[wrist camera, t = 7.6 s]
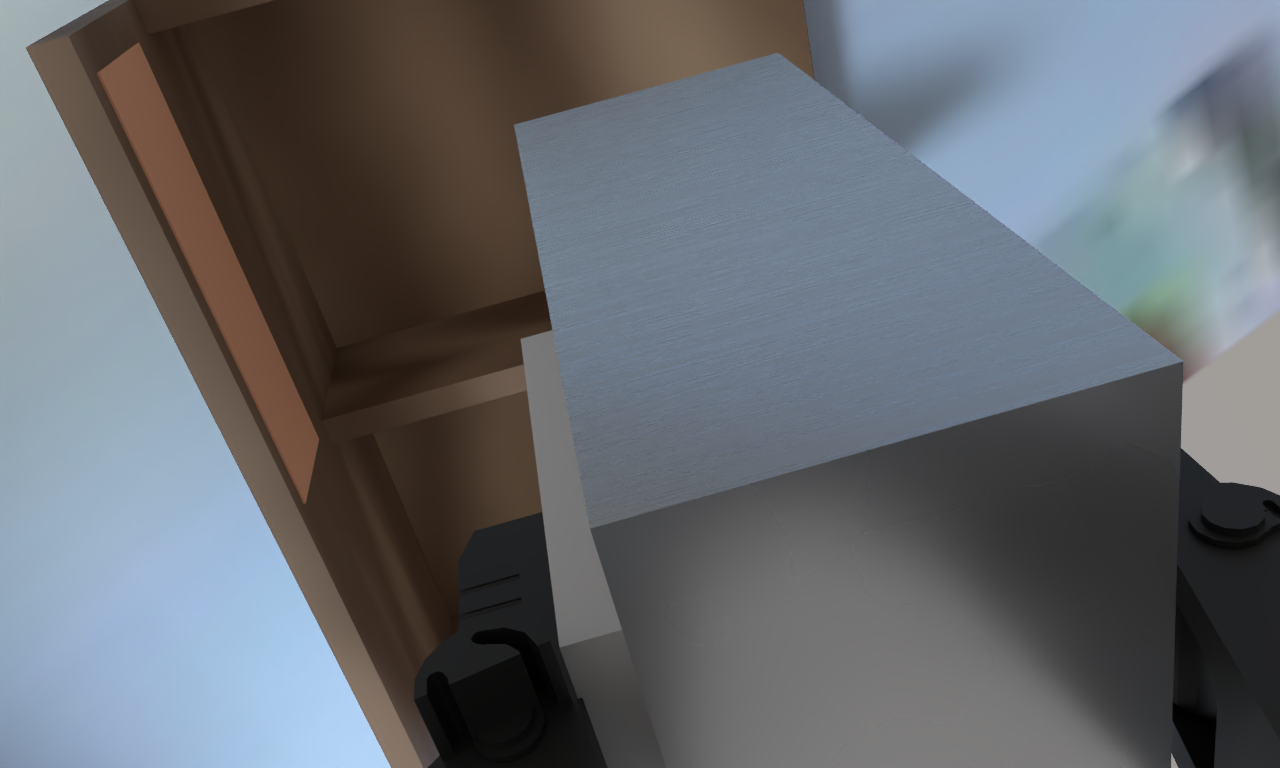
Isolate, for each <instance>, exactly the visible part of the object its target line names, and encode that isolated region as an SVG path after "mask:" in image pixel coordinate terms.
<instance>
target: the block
mask: <svg viewBox="0 0 1280 768" xmlns="http://www.w3.org/2000/svg"><path fill="white" fill-rule="evenodd" d="M514 127H515V133H516V138H517V143H518V149H519V154H520V159H521V165H522V170H523V175H524V181H525V186H526V191H527V197H528V202H529V207H530V213H531V218H532V223H533V229H534V234H535V239H536V245H537V250H538V255H539V261H540V266H541V271H542V276H543V282H544V287H545V292H546V298H547V303H548V308H549V314H550V319H551V324H552V330H553V335H554V340H555V346H556V351H557V356H558V362H559V367H560V372H561V378H562V383H563V388H564V394H565V399H566V404H567V410H568V415H569V420H570V426H571V431H572V436H573V442H574V447H575V452H576V458H577V463H578V468H579V474H580V479H581V484H582V489H583V495H584V500H585V505H586V511H587V516H588V521H589V527H590V531H591V534H592V537H593V540H594V543H595V546H596V550H597V553H598V556H599V559H600V562H601V565H602V568H603V572H604V575H605V578H606V581H607V584H608V587H609V590H610V594H611V597H612V600H613V603H614V606H615V609H616V612H617V616H618V619H619V622H620V625H621V628H622V631H623V634H624V638H625V641H626V644H627V647H628V650H629V653H630V656H631V660H632V663H633V666H634V669H635V672H636V675H637V678H638V682H639V685H640V688H641V691H642V694H643V697H644V700H645V704H646V707H647V710H648V713H649V716H650V719H651V722H652V726H653V729H654V732H655V735H656V738H657V741H658V744H659V747H660V751H661V754H662V757H663V760H664V763H665V766H666V768H1171V746H1172V713H1173V680H1174V647H1175V614H1176V581H1177V548H1178V515H1179V482H1180V449H1181V448H1180V447H1181V415H1182V384H1183V361H1182V360H1181V359H1179V358H1178V357H1177V356H1175V355H1174V354H1173V353H1171V352H1170V351H1169V350H1168V349H1166V348H1165V347H1164V346H1162V345H1161V344H1160V343H1158V342H1157V341H1156V340H1154V339H1153V338H1152V337H1150V336H1149V335H1148V334H1147V333H1145V332H1144V331H1143V330H1141V329H1140V328H1139V327H1137V326H1136V325H1135V324H1133V323H1132V322H1131V321H1130V320H1128V319H1127V318H1126V317H1124V316H1123V315H1122V314H1120V313H1119V312H1118V311H1116V310H1115V309H1114V308H1112V307H1111V306H1110V305H1109V304H1107V303H1106V302H1105V301H1103V300H1102V299H1101V298H1099V297H1098V296H1097V295H1095V294H1094V293H1093V292H1091V291H1090V290H1089V289H1088V288H1086V287H1085V286H1084V285H1082V284H1081V283H1080V282H1078V281H1077V280H1076V279H1074V278H1073V277H1072V276H1071V275H1069V274H1068V273H1067V272H1065V271H1064V270H1063V269H1061V268H1060V267H1059V266H1057V265H1056V264H1055V263H1053V262H1052V261H1051V260H1050V259H1048V258H1047V257H1046V256H1044V255H1043V254H1042V253H1040V252H1039V251H1038V250H1036V249H1035V248H1034V247H1032V246H1031V245H1030V244H1029V243H1027V242H1026V241H1025V240H1023V239H1022V238H1021V237H1019V236H1018V235H1017V234H1015V233H1014V232H1013V231H1012V230H1010V229H1009V228H1008V227H1006V226H1005V225H1004V224H1002V223H1001V222H1000V221H998V220H997V219H996V218H994V217H993V216H992V215H991V214H989V213H988V212H987V211H985V210H984V209H983V208H981V207H980V206H979V205H977V204H976V203H975V202H973V201H972V200H971V199H970V198H968V197H967V196H966V195H964V194H963V193H962V192H960V191H959V190H958V189H956V188H955V187H954V186H953V185H951V184H950V183H949V182H947V181H946V180H945V179H943V178H942V177H941V176H939V175H938V174H937V173H935V172H934V171H933V170H932V169H930V168H929V167H928V166H926V165H925V164H924V163H922V162H921V161H920V160H918V159H917V158H916V157H915V156H913V155H912V154H911V153H909V152H908V151H907V150H905V149H904V148H903V147H901V146H900V145H899V144H897V143H896V142H895V141H894V140H892V139H891V138H890V137H888V136H887V135H886V134H884V133H883V132H882V131H880V130H879V129H878V128H876V127H875V126H874V125H873V124H871V123H870V122H869V121H867V120H866V119H865V118H863V117H862V116H861V115H859V114H858V113H857V112H856V111H854V110H853V109H852V108H850V107H849V106H848V105H846V104H845V103H844V102H842V101H841V100H840V99H838V98H837V97H836V96H835V95H833V94H832V93H831V92H829V91H828V90H827V89H825V88H824V87H823V86H821V85H820V84H819V83H817V82H816V81H815V80H814V79H812V78H811V77H810V76H808V75H807V74H806V73H804V72H803V71H802V70H800V69H799V68H798V67H797V66H795V65H794V64H793V63H791V62H790V61H789V60H787V59H786V58H785V57H783V56H782V55H781V54H779V53H775V54H772V55H768V56H764V57H761V58H757V59H753V60H750V61H746V62H742V63H739V64H735V65H731V66H728V67H724V68H720V69H717V70H713V71H709V72H706V73H702V74H698V75H695V76H691V77H687V78H684V79H680V80H676V81H673V82H669V83H665V84H662V85H658V86H654V87H651V88H647V89H643V90H640V91H636V92H632V93H629V94H625V95H621V96H618V97H614V98H610V99H607V100H603V101H599V102H596V103H592V104H588V105H585V106H581V107H577V108H574V109H570V110H566V111H563V112H559V113H555V114H552V115H548V116H544V117H541V118H537V119H533V120H530V121H526V122H522V123H519V124H515V125H514Z"/></svg>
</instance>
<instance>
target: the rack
mask: <svg viewBox="0 0 1280 768" xmlns="http://www.w3.org/2000/svg"><path fill="white" fill-rule="evenodd" d="M26 49H27V51H28V53H29V55H30V57H31V59H32V61H33V63H34V65H35V67H36V69H37V71H38V73H39V75H40V77H41V79H42V81H43V83H44V85H45V87H46V89H47V91H48V92H49V94H50V96H51V98H52V100H53V102H54V104H55V106H56V108H57V110H58V112H59V114H60V116H61V118H62V120H63V122H64V124H65V126H66V128H67V130H68V132H69V134H70V136H71V138H72V140H73V142H74V144H75V146H76V148H77V150H78V152H79V154H80V156H81V158H82V159H83V161H84V163H85V165H86V167H87V169H88V171H89V173H90V175H91V177H92V179H93V181H94V183H95V185H96V187H97V189H98V191H99V193H100V195H101V197H102V199H103V201H104V203H105V205H106V207H107V209H108V211H109V213H110V215H111V217H112V219H113V221H114V223H115V224H116V226H117V228H118V230H119V232H120V234H121V236H122V238H123V240H124V242H125V244H126V246H127V248H128V250H129V252H130V254H131V256H132V258H133V260H134V262H135V264H136V266H137V268H138V270H139V272H140V274H141V276H142V278H143V280H144V282H145V284H146V286H147V288H148V289H149V291H150V293H151V295H152V297H153V299H154V301H155V303H156V305H157V307H158V309H159V311H160V313H161V315H162V317H163V319H164V321H165V323H166V325H167V327H168V329H169V331H170V333H171V335H172V337H173V339H174V341H175V343H176V345H177V347H178V349H179V351H180V353H181V354H182V356H183V358H184V360H185V362H186V364H187V366H188V368H189V370H190V372H191V374H192V376H193V378H194V380H195V382H196V384H197V386H198V388H199V390H200V392H201V394H202V396H203V398H204V400H205V402H206V404H207V406H208V408H209V410H210V412H211V414H212V416H213V418H214V419H215V421H216V423H217V425H218V427H219V429H220V431H221V433H222V435H223V437H224V439H225V441H226V443H227V445H228V447H229V449H230V451H231V453H232V455H233V457H234V459H235V461H236V463H237V465H238V467H239V469H240V471H241V473H242V475H243V477H244V479H245V481H246V483H247V484H248V486H249V488H250V490H251V492H252V494H253V496H254V498H255V500H256V502H257V504H258V506H259V508H260V510H261V512H262V514H263V516H264V518H265V520H266V522H267V524H268V526H269V528H270V530H271V532H272V534H273V536H274V538H275V540H276V542H277V544H278V546H279V548H280V549H281V551H282V553H283V555H284V557H285V559H286V561H287V563H288V565H289V567H290V569H291V571H292V573H293V575H294V577H295V579H296V581H297V583H298V585H299V587H300V589H301V591H302V593H303V595H304V597H305V599H306V601H307V603H308V605H309V607H310V609H311V611H312V613H313V614H314V616H315V618H316V620H317V622H318V624H319V626H320V628H321V630H322V632H323V634H324V636H325V638H326V640H327V642H328V644H329V646H330V648H331V650H332V652H333V654H334V656H335V658H336V660H337V662H338V664H339V666H340V668H341V670H342V672H343V674H344V676H345V678H346V680H347V681H348V683H349V685H350V687H351V689H352V691H353V693H354V695H355V697H356V699H357V701H358V703H359V705H360V707H361V709H362V711H363V713H364V715H365V717H366V719H367V721H368V723H369V725H370V727H371V729H372V731H373V733H374V735H375V737H376V739H377V741H378V743H379V745H380V746H381V748H382V750H383V752H384V754H385V756H386V758H387V760H388V762H389V764H390V766H391V768H428V767H429V766H430V765H431V764H432V763H433V762H434V761H435V760H436V759H437V758H438V757H439V755H440V754H439V752H438V750H437V748H436V746H435V744H434V742H433V740H432V737H431V735H430V733H429V731H428V729H427V727H426V725H425V723H424V720H423V718H422V716H421V714H420V712H419V710H418V708H417V706H416V703H415V701H414V683H415V678H416V676H417V674H418V672H419V670H420V668H421V666H422V665H423V663H424V661H425V659H426V658H427V657H428V656H429V655H430V654H431V653H432V652H433V651H434V650H435V649H436V648H437V647H438V646H439V645H440V644H441V643H442V642H443V641H444V640H446V639H448V638H449V637H451V636H453V635H454V634H456V633H458V632H459V621H460V618H459V599H458V596H460V594H459V591H458V561H459V559H460V557H461V555H462V553H463V551H464V550H465V548H466V546H467V544H468V542H469V540H470V538H471V536H472V534H473V533H474V531H476V530H480V529H483V528H487V527H490V526H494V525H498V524H501V523H505V522H508V521H512V520H515V519H519V518H522V517H526V516H530V515H533V514H537V513H540V512H542V505H541V497H540V489H539V481H538V473H537V465H536V457H535V449H534V441H533V433H532V425H531V417H530V409H529V401H528V393H527V385H526V377H525V370H524V362H523V354H522V346H521V339H522V338H526V337H529V336H533V335H537V334H540V333H544V332H547V331H551V330H552V324H551V319H550V314H549V308H548V303H547V298H546V292H545V287H544V282H543V276H542V271H541V266H540V261H539V255H538V250H537V245H536V239H535V234H534V229H533V223H532V218H531V213H530V207H529V202H528V197H527V191H526V186H525V181H524V175H523V170H522V165H521V159H520V154H519V149H518V143H517V138H516V133H515V127H514V125H515V124H519V123H522V122H526V121H530V120H533V119H537V118H541V117H544V116H548V115H552V114H555V113H559V112H563V111H566V110H570V109H574V108H577V107H581V106H585V105H588V104H592V103H596V102H599V101H603V100H607V99H610V98H614V97H618V96H621V95H625V94H629V93H632V92H636V91H640V90H643V89H647V88H651V87H654V86H658V85H662V84H665V83H669V82H673V81H676V80H680V79H684V78H687V77H691V76H695V75H698V74H702V73H706V72H709V71H713V70H717V69H720V68H724V67H728V66H731V65H735V64H739V63H742V62H746V61H750V60H753V59H757V58H761V57H764V56H768V55H772V54H775V53H779V54H781V55H782V56H783V57H785V58H786V59H787V60H789V61H790V62H791V63H793V64H794V65H795V66H797V67H798V68H799V69H800V70H802V71H803V72H804V73H806V74H807V75H808V76H810V77H811V78H812V79H814V73H813V66H812V59H811V52H810V45H809V38H808V31H807V25H806V18H805V11H804V4H803V0H109V1H107V2H105V3H103V4H102V5H100V6H98V7H96V8H95V9H93V10H91V11H89V12H88V13H86V14H84V15H82V16H81V17H79V18H77V19H75V20H73V21H72V22H70V23H68V24H66V25H65V26H63V27H61V28H59V29H58V30H56V31H54V32H52V33H51V34H49V35H47V36H45V37H43V38H42V39H40V40H38V41H36V42H35V43H33V44H31V45H29V46H28V47H26ZM814 80H815V79H814Z"/></svg>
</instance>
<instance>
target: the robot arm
mask: <svg viewBox="0 0 1280 768" xmlns="http://www.w3.org/2000/svg"><path fill="white" fill-rule="evenodd" d="M521 346H522V354H523V362H524V370H525V377H526V385H527V393H528V401H529V409H530V417H531V425H532V433H533V441H534V449H535V457H536V465H537V473H538V481H539V489H540V497H541V505H542V512H540V513H537V514H533V515H530V516H526V517H522V518H519V519H515V520H512V521H508V522H505V523H501V524H498V525H494V526H490V527H487V528H483V529H480V530H476V531H474V533H473V534H472V536H471V538H470V540H469V542H468V544H467V546H466V548H465V550H464V551H463V553H462V555H461V557H460V559H459V561H458V591H459V594H460V596H458V599H459V618H460V621H459V632H458V633H456V634H454V635H453V636H451V637H449V638H448V639H446V640H444V641H443V642H442V643H441V644H440V645H439V646H438V647H437V648H436V649H435V650H434V651H433V652H432V653H431V654H430V655H429V656H428V657H427V658H426V659H425V661H424V663H423V665H422V666H421V668H420V670H419V672H418V674H417V676H416V678H415V683H414V701H415V703H416V706H417V708H418V710H419V712H420V714H421V716H422V718H423V720H424V723H425V725H426V727H427V729H428V731H429V733H430V735H431V737H432V740H433V742H434V744H435V746H436V748H437V750H438V752H439V754H440V755H439V757H438V758H437V759H436V760H435V761H434V762H433V763H432V764H431V765H430V766H429V767H428V768H666V766H665V763H664V760H663V757H662V754H661V751H660V747H659V744H658V741H657V738H656V735H655V732H654V729H653V726H652V722H651V719H650V716H649V713H648V710H647V707H646V704H645V700H644V697H643V694H642V691H641V688H640V685H639V682H638V678H637V675H636V672H635V669H634V666H633V663H632V660H631V656H630V653H629V650H628V647H627V644H626V641H625V638H624V634H623V631H622V628H621V625H620V622H619V619H618V616H617V612H616V609H615V606H614V603H613V600H612V597H611V594H610V590H609V587H608V584H607V581H606V578H605V575H604V572H603V568H602V565H601V562H600V559H599V556H598V553H597V550H596V546H595V543H594V540H593V537H592V534H591V531H590V527H589V521H588V516H587V511H586V505H585V500H584V495H583V489H582V484H581V479H580V474H579V468H578V463H577V458H576V452H575V447H574V442H573V436H572V431H571V426H570V420H569V415H568V410H567V404H566V399H565V394H564V388H563V383H562V378H561V372H560V367H559V362H558V356H557V351H556V346H555V340H554V335H553V330H551V331H547V332H544V333H540V334H537V335H533V336H529V337H526V338H522V339H521ZM1171 753H1172V755H1173V757H1174V759H1175V761H1176V763H1177V765H1178V767H1179V768H1280V495H1277V494H1275V493H1273V492H1270V491H1268V490H1266V489H1263V488H1260V487H1254V486H1249V485H1243V484H1238V483H1220V482H1219V481H1217V480H1216V479H1215V478H1214V477H1213V476H1212V475H1211V474H1210V473H1208V472H1207V471H1206V470H1205V469H1204V468H1203V467H1202V466H1201V465H1199V464H1198V463H1197V462H1196V461H1195V460H1194V459H1193V458H1192V457H1190V456H1189V455H1188V454H1187V453H1186V452H1185V451H1184V450H1183V449H1180V482H1179V515H1178V548H1177V581H1176V614H1175V647H1174V680H1173V713H1172V746H1171Z"/></svg>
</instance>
